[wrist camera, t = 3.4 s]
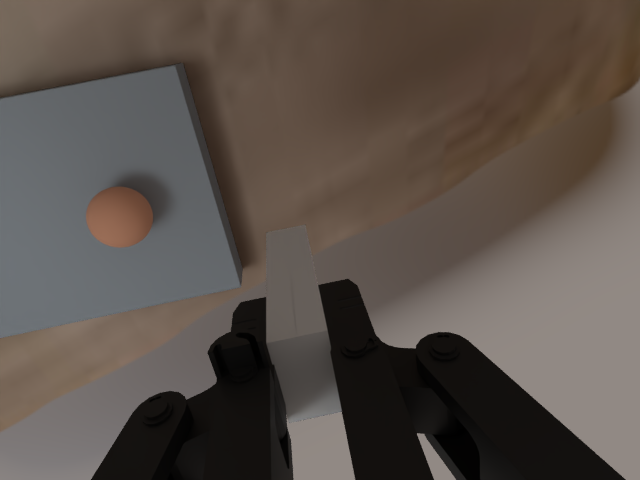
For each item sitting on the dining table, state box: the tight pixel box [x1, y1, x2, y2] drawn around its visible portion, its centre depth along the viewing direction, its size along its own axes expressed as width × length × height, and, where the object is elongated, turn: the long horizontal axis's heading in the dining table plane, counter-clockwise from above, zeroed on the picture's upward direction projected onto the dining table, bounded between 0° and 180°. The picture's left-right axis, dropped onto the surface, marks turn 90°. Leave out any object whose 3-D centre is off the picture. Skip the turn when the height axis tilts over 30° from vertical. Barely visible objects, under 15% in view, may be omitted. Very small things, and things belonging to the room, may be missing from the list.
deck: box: [0, 63, 243, 338], centre depth 27 cm, size 25×14×2 cm, turn 100°
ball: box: [86, 187, 153, 248], centre depth 24 cm, size 3×3×3 cm
